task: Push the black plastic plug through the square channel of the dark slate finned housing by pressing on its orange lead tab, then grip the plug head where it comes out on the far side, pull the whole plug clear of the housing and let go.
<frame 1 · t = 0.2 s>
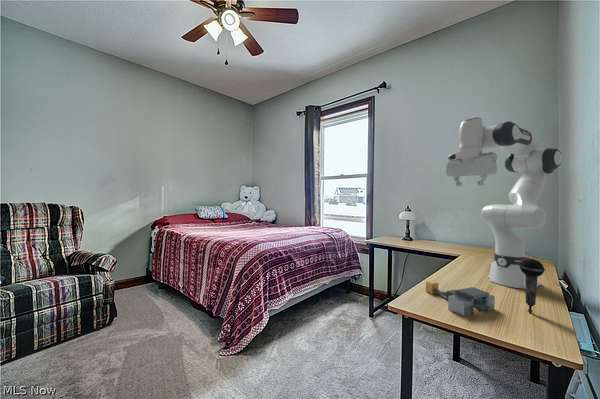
hand: (469, 185, 109), 47 cm above the table, tool pointing down, fingers open, 8 cm apart
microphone: (530, 313, 90), on the table
housing: (471, 309, 92), on the table
plug: (455, 302, 98), on the table
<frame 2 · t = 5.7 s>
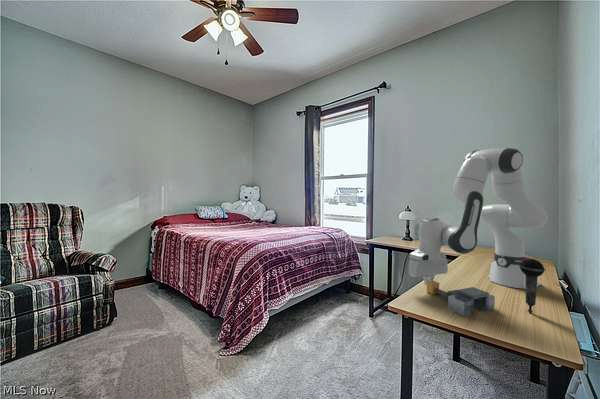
hand: (428, 284, 110), 3 cm above the table, tool pointing down, fingers closed, pressing on plug
plug: (456, 302, 98), on the table, touching gripper
everything else where it was.
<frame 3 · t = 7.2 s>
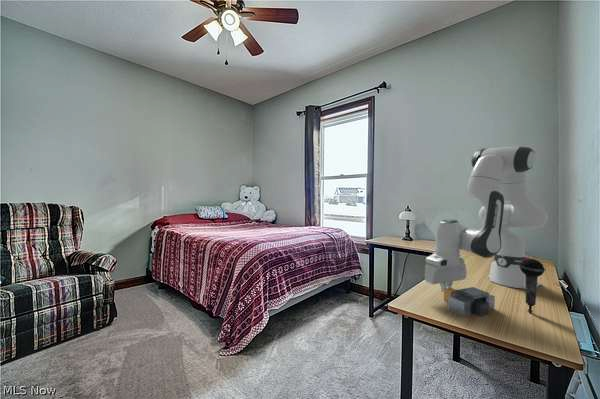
hand: (445, 291, 102), 3 cm above the table, tool pointing down, fingers closed, pressing on plug
plug: (478, 312, 89), on the table, touching gripper
everything else where it was.
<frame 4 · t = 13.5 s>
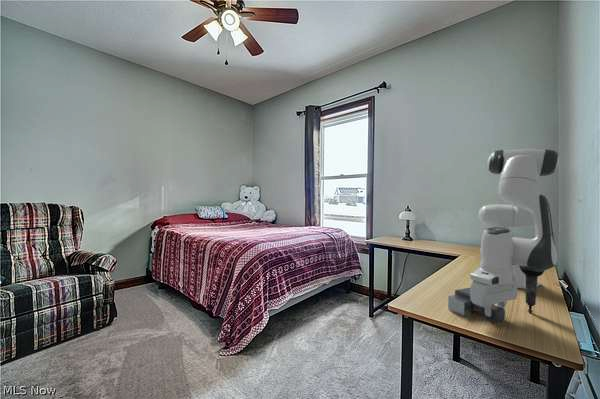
hand: (494, 314, 85), 2 cm above the table, tool pointing down, fingers closed on plug, 4 cm apart
plug: (493, 318, 85), on the table, touching gripper
everything else where it was.
when the fingers open (2 cm above the table, at t = 17.5 s): plug stays where it is, on the table.
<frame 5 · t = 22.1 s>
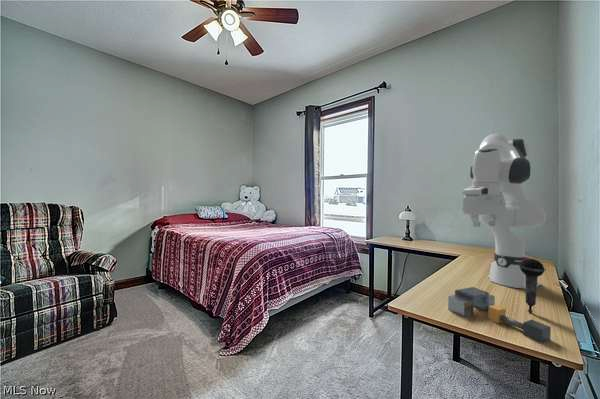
hand: (484, 226, 95), 31 cm above the table, tool pointing down, fingers open, 8 cm apart
plug: (536, 337, 74), on the table
everything else where it was.
at the end: plug inside the target area (1.1 cm from its centre), on the table; the gripper is holding nothing; plug tilted 0° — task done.
